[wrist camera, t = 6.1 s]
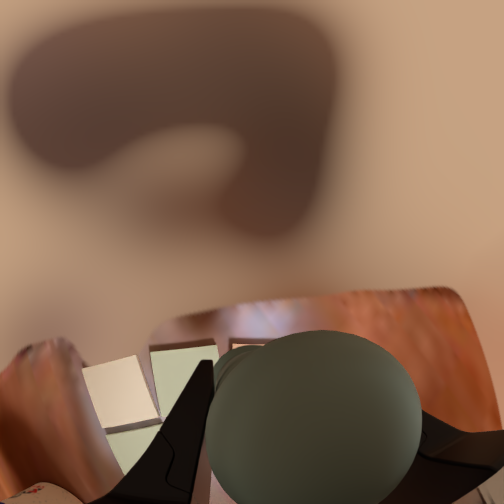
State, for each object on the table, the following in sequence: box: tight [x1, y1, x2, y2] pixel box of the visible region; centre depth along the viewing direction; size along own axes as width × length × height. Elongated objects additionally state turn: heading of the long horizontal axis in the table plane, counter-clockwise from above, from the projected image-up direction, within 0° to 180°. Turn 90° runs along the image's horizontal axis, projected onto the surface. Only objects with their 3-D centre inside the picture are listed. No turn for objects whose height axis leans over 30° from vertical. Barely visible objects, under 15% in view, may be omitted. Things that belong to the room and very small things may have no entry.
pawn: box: [205, 330, 422, 504], centre depth 9 cm, size 5×5×13 cm
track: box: [82, 344, 265, 475], centre depth 18 cm, size 23×17×1 cm
